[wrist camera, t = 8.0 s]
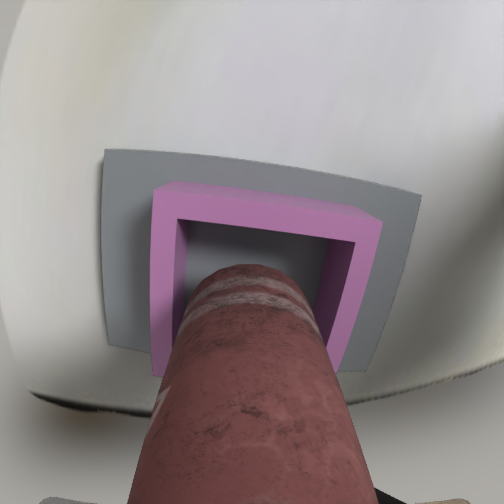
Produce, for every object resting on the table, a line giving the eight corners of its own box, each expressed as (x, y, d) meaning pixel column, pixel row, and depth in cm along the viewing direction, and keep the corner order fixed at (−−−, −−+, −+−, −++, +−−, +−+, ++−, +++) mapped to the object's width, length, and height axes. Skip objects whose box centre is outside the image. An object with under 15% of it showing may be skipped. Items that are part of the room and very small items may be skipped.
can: (260, 379, 17) (276, 621, 3) (166, 322, 15) (77, 595, 2) (335, 307, 15) (453, 579, 2) (236, 233, 14) (208, 648, 1)
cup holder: (410, 191, 19) (457, 207, 14) (360, 360, 23) (382, 405, 18) (114, 148, 17) (71, 151, 12) (115, 334, 22) (89, 378, 17)
